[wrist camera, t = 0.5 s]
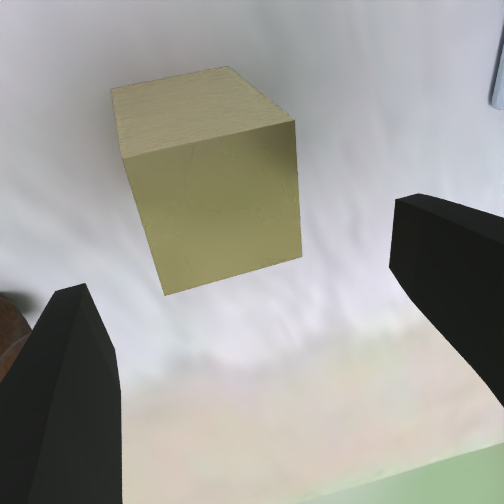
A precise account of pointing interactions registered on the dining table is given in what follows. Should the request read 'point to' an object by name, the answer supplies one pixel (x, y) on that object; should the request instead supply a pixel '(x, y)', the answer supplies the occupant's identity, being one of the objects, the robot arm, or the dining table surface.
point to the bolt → (11, 334)
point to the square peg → (210, 175)
